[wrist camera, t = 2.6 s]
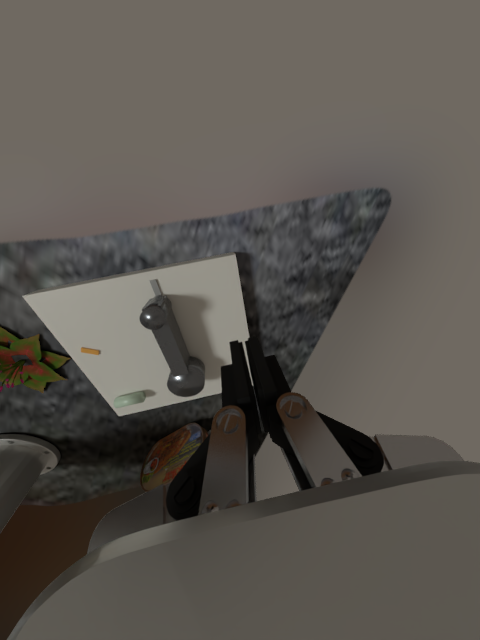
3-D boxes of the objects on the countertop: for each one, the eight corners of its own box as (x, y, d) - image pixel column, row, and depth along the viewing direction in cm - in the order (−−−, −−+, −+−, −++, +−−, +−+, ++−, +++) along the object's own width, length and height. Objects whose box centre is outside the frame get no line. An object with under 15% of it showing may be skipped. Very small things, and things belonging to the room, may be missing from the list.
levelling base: (123, 405, 33) (114, 425, 29) (37, 290, 22) (8, 301, 19) (254, 376, 34) (259, 391, 30) (233, 251, 23) (237, 256, 20)
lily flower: (52, 398, 30) (28, 425, 26) (-45, 363, 25) (-94, 390, 21) (90, 354, 27) (69, 376, 23) (-12, 304, 22) (-61, 321, 18)
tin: (202, 415, 37) (200, 463, 30) (212, 422, 38) (212, 469, 31) (146, 446, 39) (131, 498, 32) (157, 452, 41) (145, 503, 33)
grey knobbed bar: (208, 377, 29) (208, 399, 25) (177, 384, 29) (172, 407, 25) (178, 290, 22) (172, 304, 18) (137, 299, 22) (122, 314, 18)
